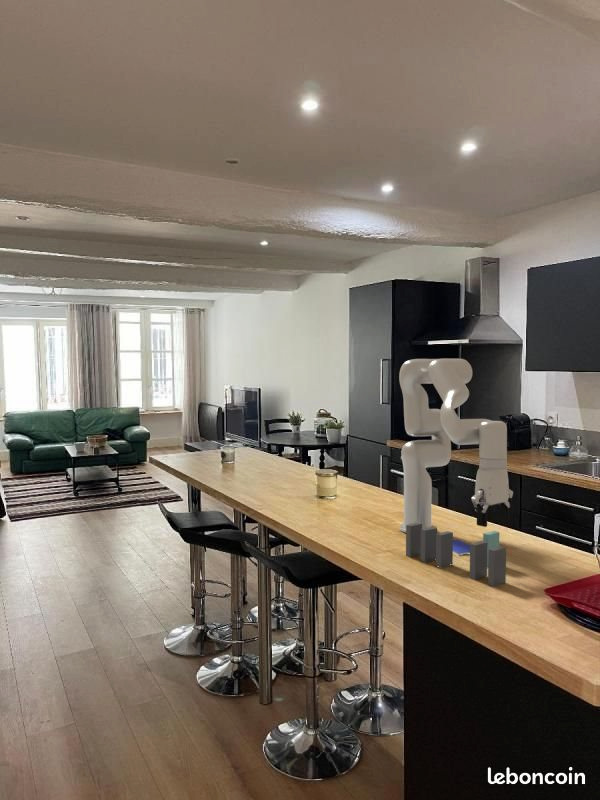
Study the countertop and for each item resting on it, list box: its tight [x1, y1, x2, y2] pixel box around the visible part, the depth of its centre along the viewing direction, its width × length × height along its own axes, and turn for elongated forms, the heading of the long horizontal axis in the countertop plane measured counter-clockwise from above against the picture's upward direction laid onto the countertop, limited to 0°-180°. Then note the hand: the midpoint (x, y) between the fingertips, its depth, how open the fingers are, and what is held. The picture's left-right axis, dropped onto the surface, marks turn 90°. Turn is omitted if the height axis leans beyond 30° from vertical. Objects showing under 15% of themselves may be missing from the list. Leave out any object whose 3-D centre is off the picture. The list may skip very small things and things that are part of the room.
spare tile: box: [482, 530, 500, 567], centre depth 175 cm, size 2×5×10 cm, turn 125°
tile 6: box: [487, 545, 507, 588], centre depth 160 cm, size 2×5×10 cm, turn 125°
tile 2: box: [420, 526, 438, 563], centre depth 180 cm, size 2×5×10 cm, turn 125°
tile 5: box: [469, 540, 488, 581], centre depth 165 cm, size 2×5×10 cm, turn 125°
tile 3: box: [435, 530, 454, 568], centre depth 175 cm, size 2×5×10 cm, turn 125°
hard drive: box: [453, 539, 470, 556], centre depth 192 cm, size 2×8×12 cm
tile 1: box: [405, 523, 422, 558], centre depth 185 cm, size 2×5×10 cm, turn 125°
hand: (492, 523), depth 174 cm, fingers open, 9 cm apart
